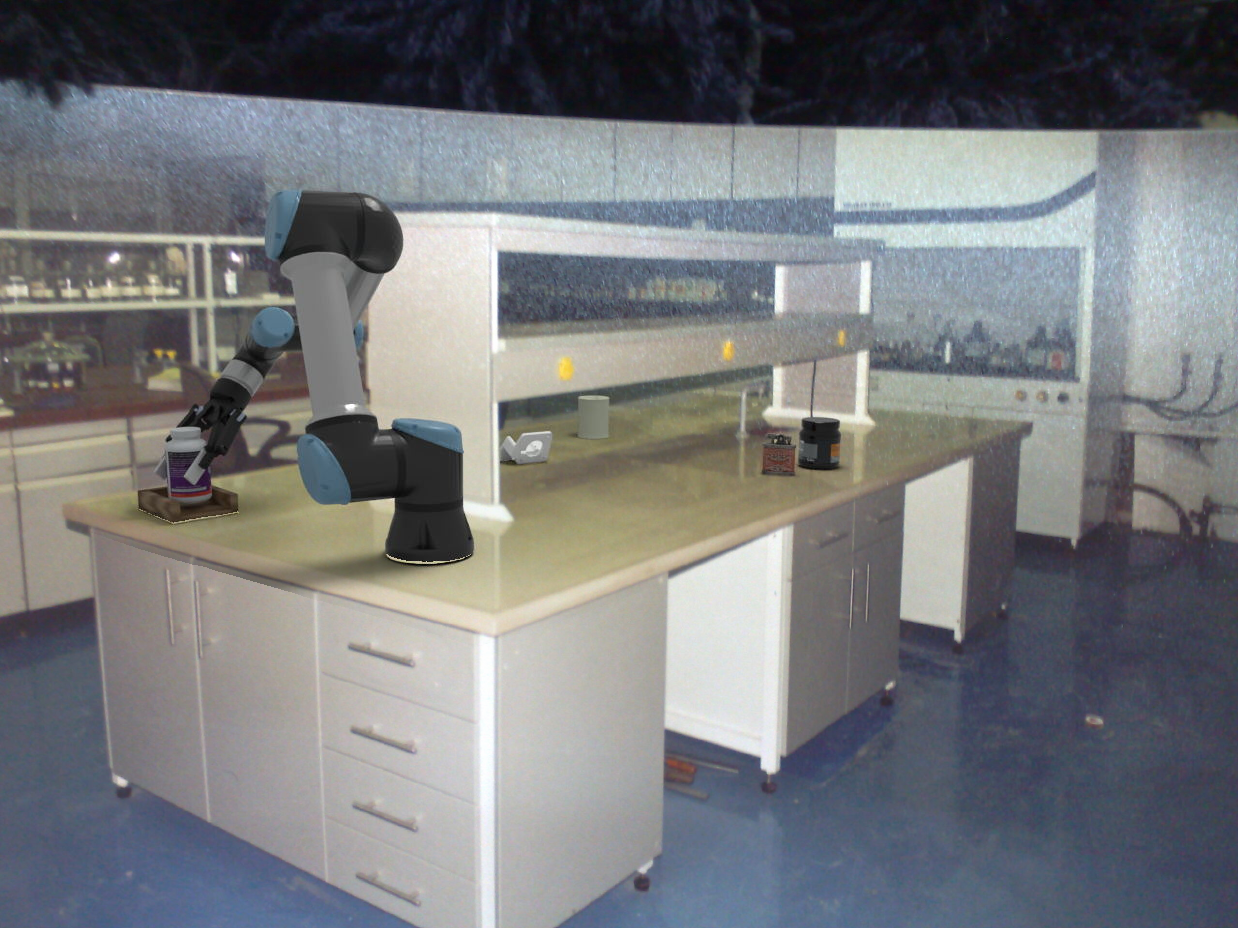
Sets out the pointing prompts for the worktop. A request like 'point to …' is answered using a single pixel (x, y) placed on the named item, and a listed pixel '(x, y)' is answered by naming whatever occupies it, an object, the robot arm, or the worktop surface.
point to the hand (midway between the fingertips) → (174, 478)
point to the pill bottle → (186, 466)
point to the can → (593, 417)
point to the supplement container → (819, 443)
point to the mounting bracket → (527, 447)
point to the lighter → (779, 455)
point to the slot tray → (173, 511)
